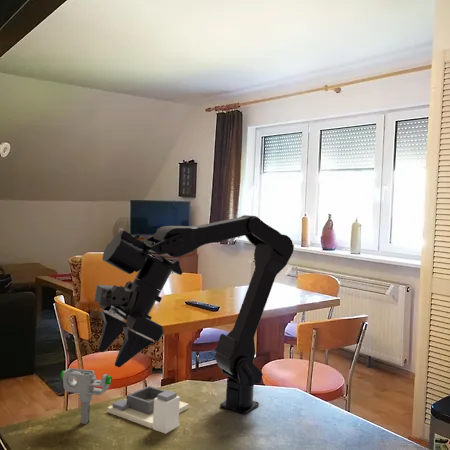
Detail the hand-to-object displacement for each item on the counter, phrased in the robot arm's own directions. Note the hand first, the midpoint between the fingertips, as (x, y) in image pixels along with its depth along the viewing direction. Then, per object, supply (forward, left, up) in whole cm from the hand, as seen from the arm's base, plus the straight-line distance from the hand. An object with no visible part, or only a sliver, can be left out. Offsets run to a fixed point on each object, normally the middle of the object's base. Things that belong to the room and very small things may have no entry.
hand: (108, 358), depth 96 cm
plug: (-8, +8, -14) cm, 18 cm away
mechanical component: (0, -6, -14) cm, 16 cm away
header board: (-12, 0, -14) cm, 19 cm away
